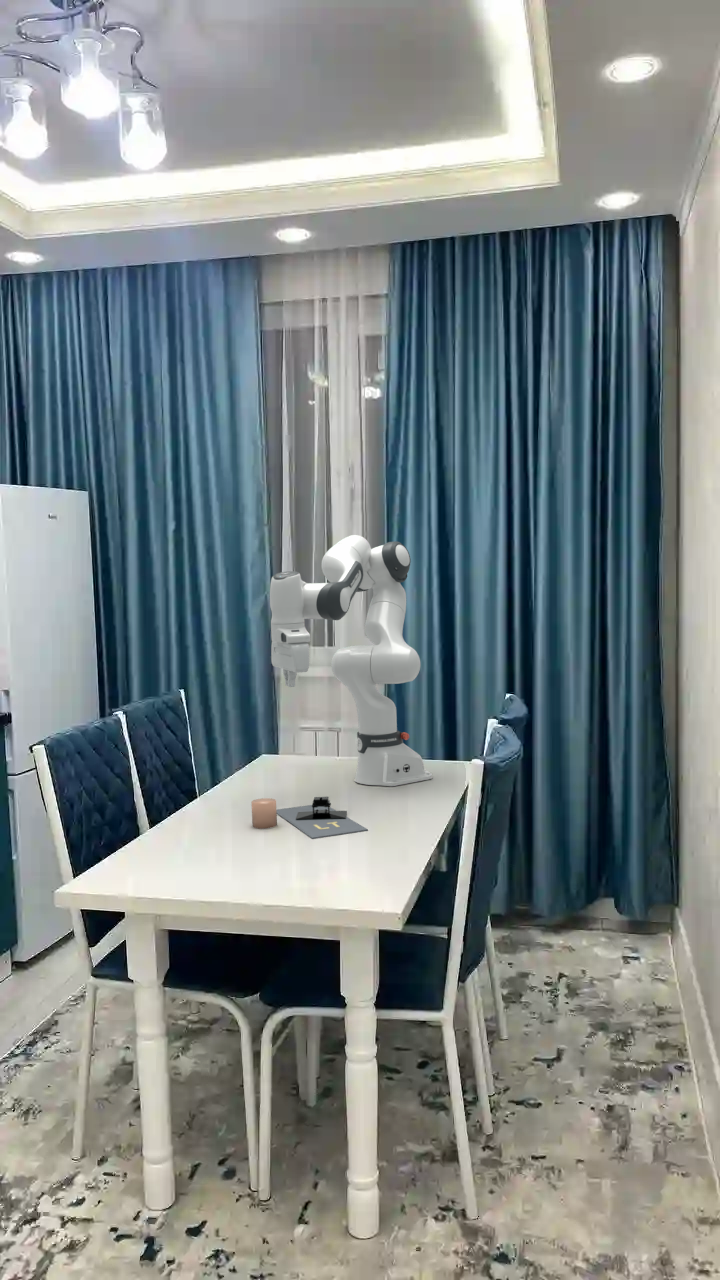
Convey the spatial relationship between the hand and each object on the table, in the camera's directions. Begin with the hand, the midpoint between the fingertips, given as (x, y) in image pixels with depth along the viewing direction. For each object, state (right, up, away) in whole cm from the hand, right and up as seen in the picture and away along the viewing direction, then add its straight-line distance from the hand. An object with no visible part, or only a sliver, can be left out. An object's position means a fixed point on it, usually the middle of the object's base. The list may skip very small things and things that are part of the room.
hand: (290, 686), depth 263 cm
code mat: (+8, -32, -16) cm, 37 cm away
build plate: (+9, -32, -13) cm, 36 cm away
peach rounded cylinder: (-5, -33, -19) cm, 38 cm away
